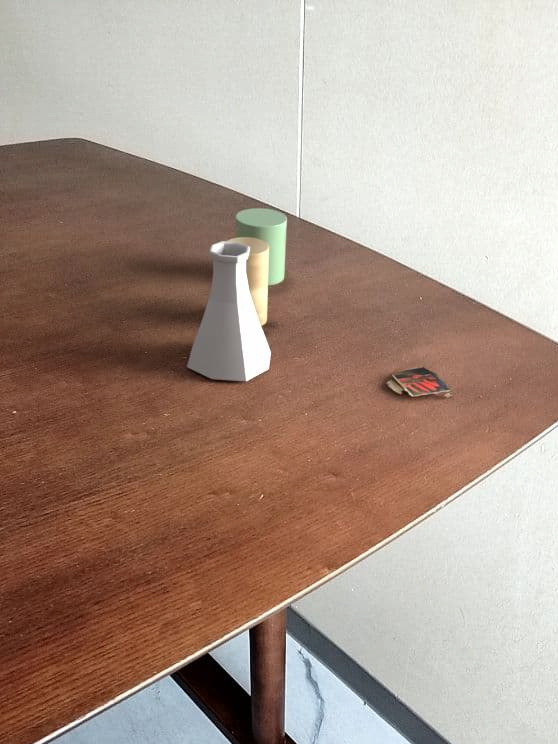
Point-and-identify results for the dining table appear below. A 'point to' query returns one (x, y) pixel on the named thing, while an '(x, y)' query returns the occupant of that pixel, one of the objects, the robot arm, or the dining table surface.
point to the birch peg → (257, 274)
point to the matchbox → (419, 382)
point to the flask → (230, 322)
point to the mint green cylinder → (266, 236)
